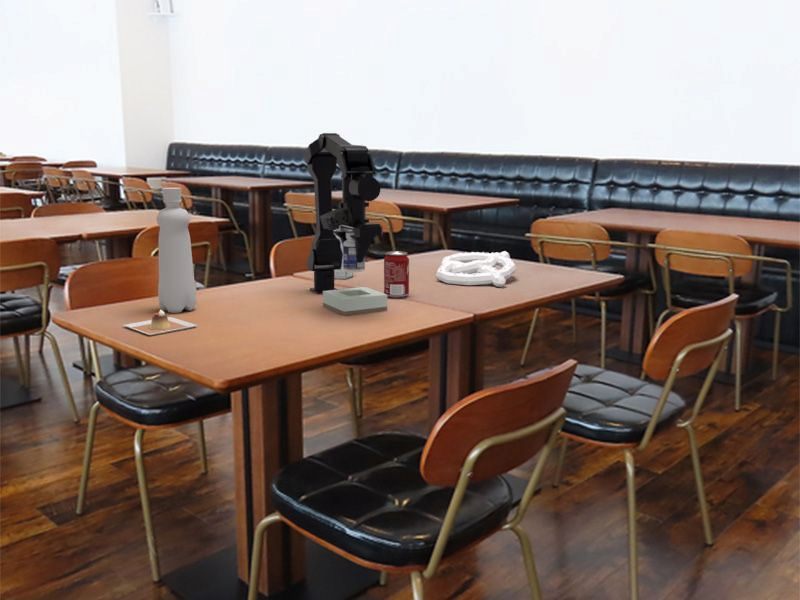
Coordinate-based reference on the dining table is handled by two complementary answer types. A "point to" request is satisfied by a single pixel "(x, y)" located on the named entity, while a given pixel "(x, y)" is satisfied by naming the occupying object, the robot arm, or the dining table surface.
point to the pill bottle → (351, 256)
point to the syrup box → (341, 273)
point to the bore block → (354, 300)
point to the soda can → (396, 274)
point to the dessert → (160, 323)
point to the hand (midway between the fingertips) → (354, 260)
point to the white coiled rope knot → (476, 268)
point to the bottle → (175, 256)
